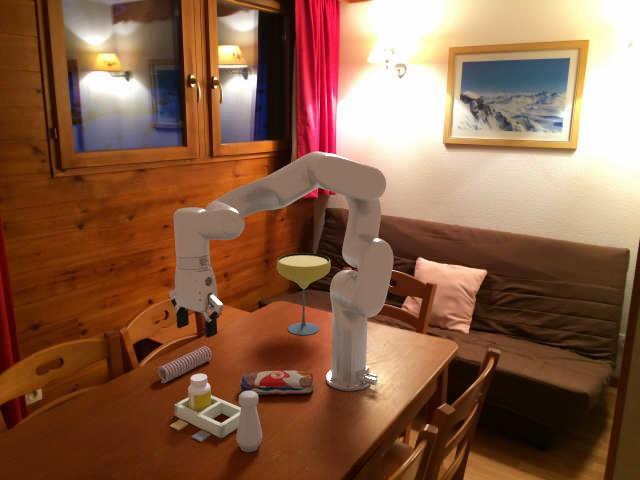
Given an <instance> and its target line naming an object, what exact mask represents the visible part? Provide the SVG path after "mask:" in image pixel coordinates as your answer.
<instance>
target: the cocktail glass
mask: <svg viewBox="0 0 640 480" xmlns="http://www.w3.org/2000/svg"><path fill="white" fill-rule="evenodd" d="M331 268H332V266H331V259H330V258H329V257H328V256H326V255H323V254H319V253H309V252H300V253H299V252H297V253H296V252H295V253H290V254H285V255H281V256H279V257H278V258H277V261H276V269H277V272H278V273H279V274H280V276H282V277H283V278H285V279H287V280H289V281H292V282H295V283H296V284H297V285H298V286H299V288H301V289H302V317H301V318H302V319H301V322H297V323H293V324H290V325H289V326H288V327H287V330H288V332H289V333H291V334H293V335H296V336H310V335H311V336H312V335H315V334H317V333H318V332H319V330H320V327H319V326H318V325H317V324H315V323H312V322H306V315H305V307H306V306H305V305H306V304H305V295H306V294H305V289H307V288H308V287H309V285H310V284H311V283H314V282H315V281H318V280H320V279H323V278H324V277H325V276H327V275H328V274H329V272H330V271H331Z"/></svg>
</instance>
